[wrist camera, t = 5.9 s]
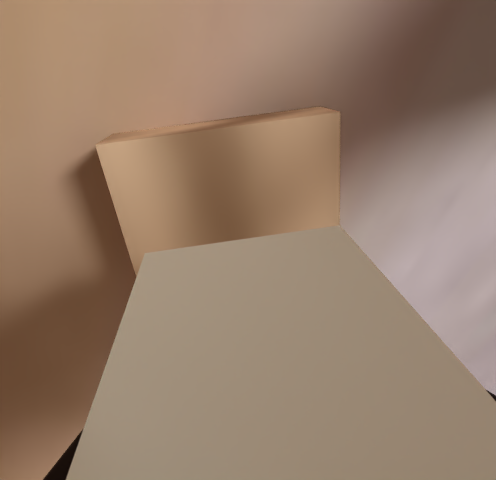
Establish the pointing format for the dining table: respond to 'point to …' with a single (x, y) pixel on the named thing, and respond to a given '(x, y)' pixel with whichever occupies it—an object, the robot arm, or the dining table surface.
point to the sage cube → (281, 373)
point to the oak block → (224, 179)
